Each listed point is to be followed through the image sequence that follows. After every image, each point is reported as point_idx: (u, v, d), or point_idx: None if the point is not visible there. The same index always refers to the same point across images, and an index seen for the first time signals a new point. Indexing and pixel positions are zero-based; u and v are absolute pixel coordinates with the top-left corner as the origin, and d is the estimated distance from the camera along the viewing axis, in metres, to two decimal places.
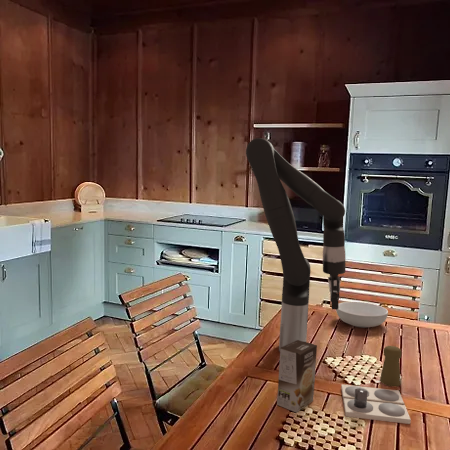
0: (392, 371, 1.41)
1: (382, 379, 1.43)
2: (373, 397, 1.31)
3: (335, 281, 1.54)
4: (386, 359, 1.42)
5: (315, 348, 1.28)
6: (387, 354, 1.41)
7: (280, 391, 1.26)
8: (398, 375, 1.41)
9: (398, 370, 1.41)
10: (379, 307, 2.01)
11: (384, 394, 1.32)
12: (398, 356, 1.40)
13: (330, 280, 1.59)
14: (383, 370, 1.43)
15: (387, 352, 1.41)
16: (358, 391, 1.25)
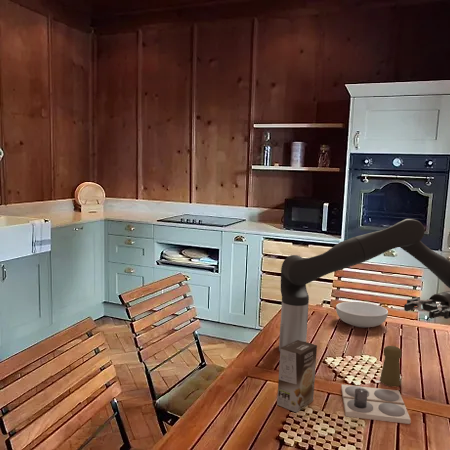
0: (392, 371, 1.41)
1: (382, 379, 1.43)
2: (373, 397, 1.31)
3: None
4: (386, 359, 1.42)
5: (315, 348, 1.28)
6: (387, 354, 1.41)
7: (280, 391, 1.26)
8: (398, 375, 1.41)
9: (398, 370, 1.41)
10: (379, 307, 2.01)
11: (384, 394, 1.32)
12: (398, 356, 1.40)
13: (440, 304, 1.51)
14: (383, 370, 1.43)
15: (387, 352, 1.41)
16: (358, 391, 1.25)
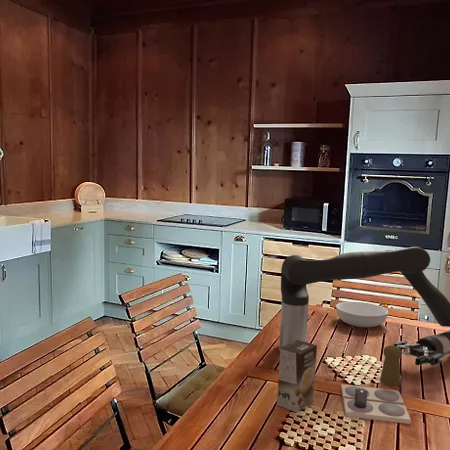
0: (392, 371, 1.41)
1: (382, 379, 1.43)
2: (373, 397, 1.31)
3: (442, 358, 1.47)
4: (386, 359, 1.42)
5: (315, 348, 1.28)
6: (387, 354, 1.41)
7: (280, 391, 1.26)
8: (398, 375, 1.41)
9: (398, 370, 1.41)
10: (379, 307, 2.01)
11: (384, 394, 1.32)
12: (398, 356, 1.40)
13: (426, 349, 1.50)
14: (383, 370, 1.43)
15: (387, 352, 1.41)
16: (358, 391, 1.25)
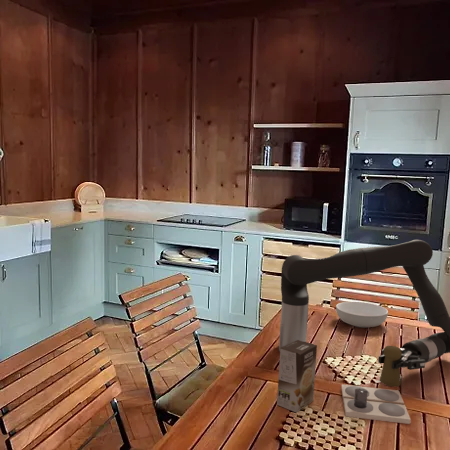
0: (392, 371, 1.41)
1: (382, 379, 1.43)
2: (373, 397, 1.31)
3: (424, 364, 1.41)
4: (386, 359, 1.42)
5: (315, 348, 1.28)
6: (387, 354, 1.41)
7: (280, 391, 1.26)
8: (398, 375, 1.41)
9: (398, 370, 1.41)
10: (379, 307, 2.01)
11: (384, 394, 1.32)
12: (398, 356, 1.40)
13: (411, 354, 1.45)
14: (383, 370, 1.43)
15: (387, 352, 1.41)
16: (358, 391, 1.25)
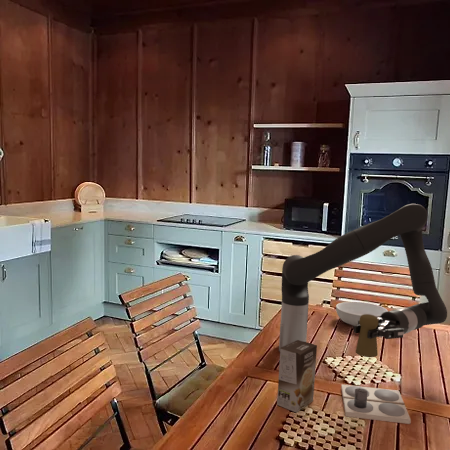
0: (368, 340, 1.31)
1: (358, 350, 1.33)
2: (373, 397, 1.31)
3: (402, 333, 1.32)
4: (362, 328, 1.33)
5: (315, 348, 1.28)
6: (363, 323, 1.31)
7: (280, 391, 1.26)
8: (375, 345, 1.32)
9: (375, 340, 1.32)
10: (379, 307, 2.01)
11: (384, 394, 1.32)
12: (374, 324, 1.31)
13: (389, 323, 1.36)
14: (359, 340, 1.33)
15: (363, 320, 1.32)
16: (358, 391, 1.25)
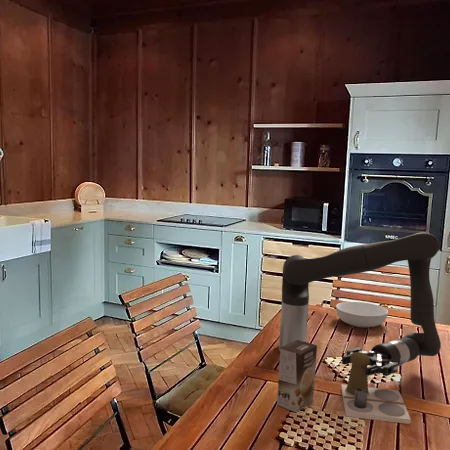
0: (359, 379, 1.31)
1: (349, 388, 1.33)
2: (373, 397, 1.31)
3: (397, 367, 1.32)
4: (353, 367, 1.32)
5: (315, 348, 1.28)
6: (354, 362, 1.31)
7: (280, 391, 1.26)
8: (365, 384, 1.32)
9: (365, 378, 1.32)
10: (379, 307, 2.01)
11: (384, 394, 1.32)
12: (365, 364, 1.30)
13: (381, 357, 1.35)
14: (350, 378, 1.33)
15: (354, 359, 1.31)
16: (358, 391, 1.25)
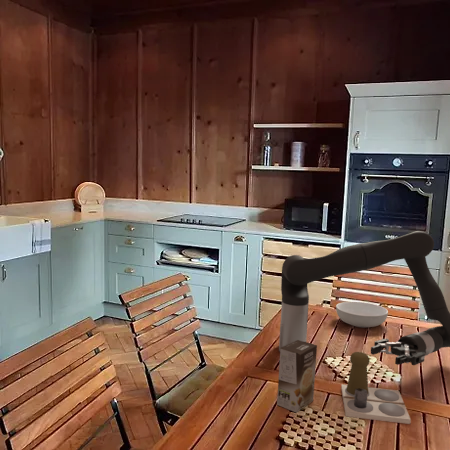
0: (359, 379, 1.31)
1: (349, 388, 1.33)
2: (373, 397, 1.31)
3: (424, 357, 1.39)
4: (353, 366, 1.32)
5: (315, 348, 1.28)
6: (354, 361, 1.31)
7: (280, 391, 1.26)
8: (365, 384, 1.32)
9: (365, 378, 1.32)
10: (379, 307, 2.01)
11: (384, 394, 1.32)
12: (365, 363, 1.31)
13: (408, 348, 1.43)
14: (350, 378, 1.33)
15: (354, 359, 1.31)
16: (358, 391, 1.25)
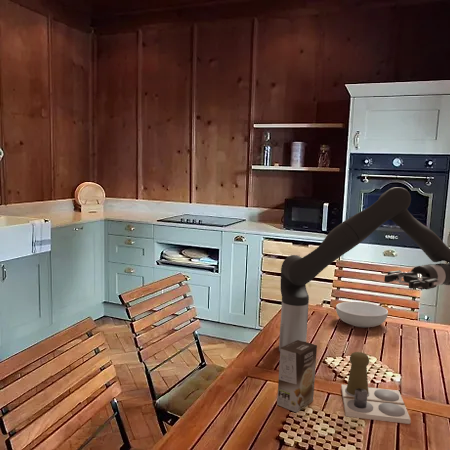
0: (359, 379, 1.31)
1: (349, 388, 1.33)
2: (373, 397, 1.31)
3: (436, 283, 1.45)
4: (352, 366, 1.32)
5: (315, 348, 1.28)
6: (353, 361, 1.31)
7: (280, 391, 1.26)
8: (365, 384, 1.32)
9: (365, 378, 1.32)
10: (379, 307, 2.01)
11: (384, 394, 1.32)
12: (365, 363, 1.31)
13: (421, 275, 1.48)
14: (349, 378, 1.33)
15: (353, 359, 1.31)
16: (358, 391, 1.25)
